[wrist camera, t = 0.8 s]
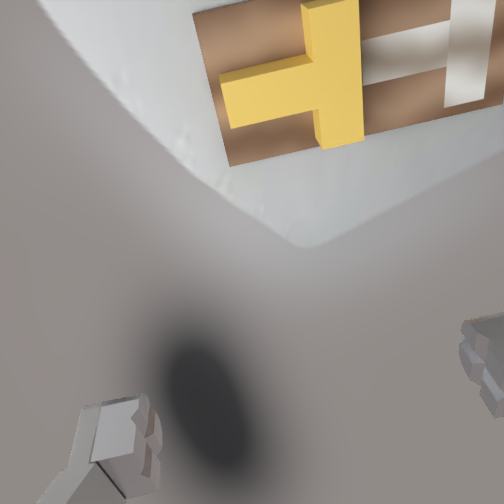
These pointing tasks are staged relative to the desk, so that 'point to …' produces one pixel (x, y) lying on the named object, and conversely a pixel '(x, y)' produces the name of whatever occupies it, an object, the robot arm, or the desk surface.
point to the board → (362, 64)
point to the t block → (308, 78)
